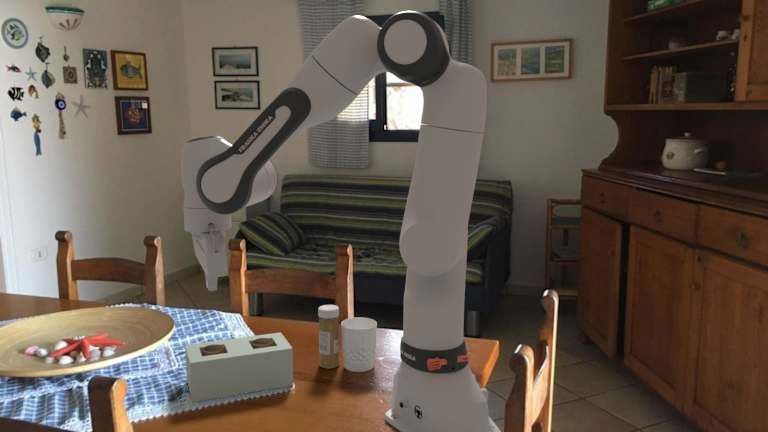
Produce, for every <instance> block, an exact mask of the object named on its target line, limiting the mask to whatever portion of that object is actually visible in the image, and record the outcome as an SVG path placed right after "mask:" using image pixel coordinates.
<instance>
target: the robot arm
mask: <svg viewBox="0 0 768 432" xmlns="http://www.w3.org/2000/svg"><path fill="white" fill-rule="evenodd" d="M451 56H452V51H451V45H450V41H449V40H448V38H447V36H446V34H445V32H444V29H443V28H442V27H441V26H440V24H439V23H437V22H436V21H434V20H433V19H432V18H431V17H430V16H428V15H427V14H426V13H424V12H420V11H417V10H405V11H400V12H397V13H395V14H393V15H392V16H390V17H389V18H387V20H386V21H385V22H384V23H383V24H382V26H379V24H377V23H376V22H374V20H371V19H370V18H367V17H366V16H362V15H351V16H349V17H346V18H345V19H344V20H343V21H341V23H339V24H337V26H336V27H334V29H332V30H331V31H330V32H329V33H328V34H327V35H326V36H325V37H324V38H323V39H322V40H321V41H320V42H319V43H318V44H317V46H316V47H315V48H314V49H313V50H312V52H311V53H309V55H308V57H307V58H306V59H305V60H304V62H303V63H302V64H301V66H300V67H299V68H298V70H296V72H295V73H294V74H293V76H292V77H291V78H290V80H288V82H287V84H286V85H285V86H284V87H283V88H282V89H281V91H279V93H278V94H277V95H276V97H275V98H274V99H273V101H271V102H270V103H269V104H268V105H267V106H266V108H265V109H264V110H263V111H262V112H261V113H260V114H259V115H258V117H256V119H254V121H252V123H251V124H249V126H248V127H247V128H246V130H245V131H244V132H243V133H242V134H241V135H240V136H239V137H238V138H237V140H235V142H234V143H233V144H232V143H230V141H228V140H227V139H225V137H223V136H222V135H209V136H201V137H197V138H196V137H195V138H193V139H190V140H188V141H187V142H186V143H185V144H184V145H183V148H182V152H181V162H180V163H181V164H180V165H181V166H180V168H181V169H180V171H181V185H182V187H183V190H184V201H183V205H182V206H183V207H182V209H183V219H184V220H183V222H184V223H183V224H184V231H185V232H187V233H188V232H189V233H190V234H191V240H192V245H193V251H194V254H195V257H196V258H197V260H198V262H199V264H200V266H201V267H202V270H203V272H204V278H205V284H206V288H207V290H208V292H215V291H218V278H222V277H226V276H227V275H228V259H227V258H228V257H227V246H226V240H225V237H226V231H227V230H231V228H232V225H233V224H232V214H233V213H236V212H237V211H240V210H242V209H245V208H246V207H250V206H253V205H255V204H258V203H261V202H264V201H265V200H267V199H268V198H270V197H271V196H272V195H273V194H274V192H275V191H276V190H277V186H278V183H279V178H278V177H279V175H278V170H277V168H276V165H274V163H273V162H272V159H273V157H274V156H275V155H276V154H277V153H278V152H279V151H280V150H281V149H282V148H283V146H284V145H286V143H287V142H288V141H290V140H291V139H293V137H294V136H296V135H298V134H300V133H301V132H303V131H306V130H307V129H309V128H312V127H314V126H318V125H320V124H323V123H326V122H330V121H331V120H333V119H334V118H336V117H337V116H338V115H340V114H342V112H344V111H345V110H346V109H347V108H348V107H349V106H350V105H351V104H353V102H354V101H355V100H356V99H357V98H358V96H359V95H360V94H361V92H363V90H364V89H365V88H366V87H367V85H369V83H370V82H371V81H372V80H373V79H375V77H377V76H379V75H380V74H383V73H390V74H392V75H393V76H395V77H396V78H397V79H399V80H401V81H403V82H404V83H409V84H412V85H414V86H416V87H419V89H420V90H421V92H422V96H423V97H422V98H423V108H422V115H421V119H420V126H419V133H418V140H417V147H416V154H415V160H414V167H413V172H412V177H411V181H410V185H409V189H408V194H407V200H406V203H405V209H404V213H403V218H402V224H401V228H400V229H401V230H400V234H399V243H398V245H399V252H400V255H401V259H402V261H403V263H404V264H405V266H406V267H407V268H406V277H405V287H404V292H403V293H404V294H403V315H402V316H403V322H402V323H403V325H402V327H403V329H402V337H401V338H400V346H399V351H400V352H399V353H400V356H399V357H400V359H401V362H400V364H399V367H398V368H397V370H396V371H395V374H394V375H393V381H392V382H393V384H392V391H391V392H392V394H391V403H390V404H391V405H390V409H388V410H387V411H386V412H385V414H384V421H386V422H387V423H388V424H390V425H391V426H392V427H393V428H395V429H397V430H398V431H399V432H502V431H501V430H500V428H499V427H498V426H497V424H496V423H495V422H494V420H493V419H492V418H491V417H490V416H489V414H490V413H489V412H490V411H489V404H488V401H489V391H488V390H487V388H485V387H482V388H481V387H480V385H479V383H478V382H477V377H476V375H475V374H474V373H473V372H472V371H471V369H470V366H469V361H471V359H469V357H471V355H470V354H468V348H467V345H466V340H465V339H464V327H465V326H464V324H465V319H464V318H465V298H466V297H465V294H466V277H467V258H468V257H467V256H468V240H469V239H468V238H469V237H468V235H469V229H468V226H469V220H470V215H471V209H472V203H473V198H474V192H475V188H476V182H477V177H478V171H479V164H480V158H481V153H482V147H483V139H484V135H485V128H486V118H487V106H488V105H487V103H488V102H487V101H488V91H487V90H488V86H487V84H488V83H487V79H486V77H485V74H484V73H483V72H482V71H481V69H478V68H477V67H475V66H474V65H471V64H470V63H465V62H460V61H457V60H455V59H453V58H452V57H451Z"/></svg>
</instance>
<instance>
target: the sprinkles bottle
mask: <svg viewBox="0 0 768 432" xmlns="http://www.w3.org/2000/svg"><path fill="white" fill-rule="evenodd" d="M317 309H318V310H317V316H318V352H319V361H318V365H319V367H321V368H323V369H334V368H338V367H339V365H340V361H339V356H340V352H339V351H340V344H339V333H340V332H339V316H340V308H339V306H338V305H335V304H323V305H320V306H319V307H318V308H317Z"/></svg>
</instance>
